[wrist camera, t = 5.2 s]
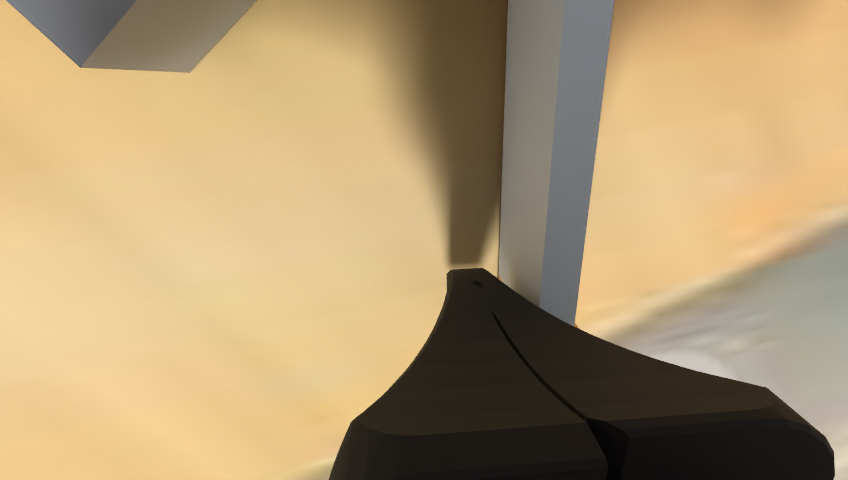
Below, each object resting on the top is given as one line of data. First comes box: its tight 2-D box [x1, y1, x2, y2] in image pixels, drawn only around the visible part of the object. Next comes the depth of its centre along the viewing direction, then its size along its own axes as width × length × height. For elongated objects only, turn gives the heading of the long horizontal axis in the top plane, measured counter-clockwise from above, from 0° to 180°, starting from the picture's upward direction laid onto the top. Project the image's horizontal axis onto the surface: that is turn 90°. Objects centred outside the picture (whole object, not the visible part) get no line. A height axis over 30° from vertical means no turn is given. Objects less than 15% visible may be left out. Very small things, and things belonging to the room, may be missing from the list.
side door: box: [498, 0, 614, 329], centre depth 8 cm, size 13×1×4 cm, turn 2°
